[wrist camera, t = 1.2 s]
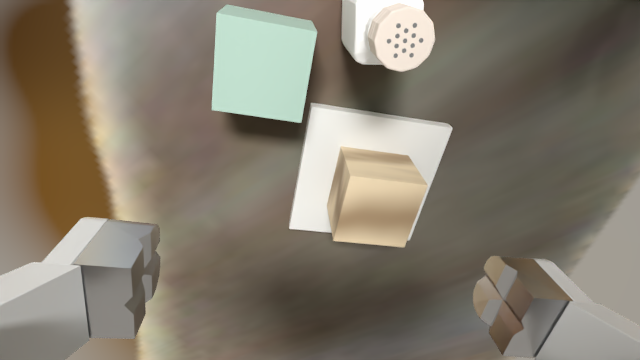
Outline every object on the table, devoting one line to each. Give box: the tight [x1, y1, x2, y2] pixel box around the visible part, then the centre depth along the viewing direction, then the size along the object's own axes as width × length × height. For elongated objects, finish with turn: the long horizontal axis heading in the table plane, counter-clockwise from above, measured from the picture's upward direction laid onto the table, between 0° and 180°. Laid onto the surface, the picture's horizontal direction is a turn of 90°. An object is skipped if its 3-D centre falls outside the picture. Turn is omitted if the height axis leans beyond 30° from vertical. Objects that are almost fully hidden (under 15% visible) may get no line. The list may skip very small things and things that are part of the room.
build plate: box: [289, 103, 453, 240], centre depth 34 cm, size 12×12×1 cm
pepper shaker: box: [341, 0, 435, 72], centre depth 23 cm, size 4×4×10 cm
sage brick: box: [212, 5, 317, 123], centre depth 26 cm, size 6×6×5 cm
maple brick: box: [327, 146, 428, 247], centre depth 31 cm, size 6×6×5 cm
